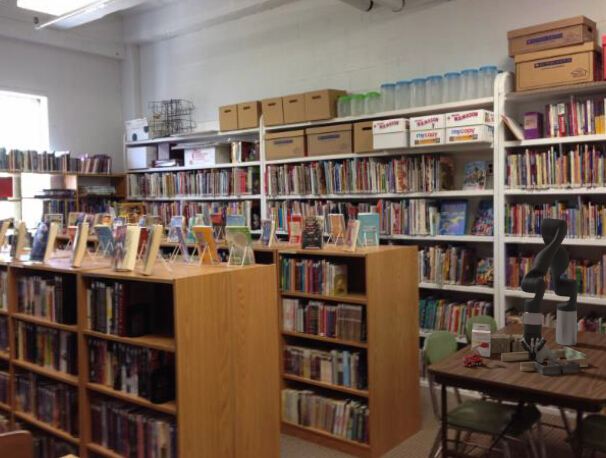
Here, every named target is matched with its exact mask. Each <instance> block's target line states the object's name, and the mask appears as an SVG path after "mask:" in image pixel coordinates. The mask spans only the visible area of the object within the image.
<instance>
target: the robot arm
mask: <svg viewBox="0 0 606 458" xmlns="http://www.w3.org/2000/svg"><path fill="white" fill-rule="evenodd" d="M539 225H540V226H539V231H540V235H541V238H542V241H543V244H544V246H545V247H543V249H542V250H541V251H539V252H538V253H537V255H536V256H535V258H534V260H533V263H532V265H531V268H530V269H529V270H528V271H527V273H526V274H525V275H524V276H523V278H522V280H521V281H520V282H521V283H520V288H521V290H522V292H524V293H527V294H534V296H533V297H531V298H529V297H528V298H525V301H524V314H523V338H522V339H521V340H519V341H518V342H519V343H520V345H521V346H522V347H523V349H524V350H525V351H528V352H529V355H528V358H529V362H536V361H537V360H536V352H538V351H540V350H541V349H542V347H543V346H544V345H546V343H547V340H546V339H545V338H544V337H543V336H542V335H543V334H542V331H543V328H542V327H543V316H542V308H543V306H542V304H543V300H544V297H545V294H546V290H547V282H546V281H545V279H543V278H544V277H546V276H547V275H548V272H549V269H550V272H551V278H552V287H553V291H554V294H555V296H557V297H563V298H564V297H566V298H569V299H568V300H565V301H563V302H560V303H557V304H556V323H555V343H556V344H558V345H561V346H576V345H577V329H578V328H577V327H578V324H577V321H578V319H577V317H578V316H577V315H578V314H577V313H578V311H577V307H578V306H577V305H578V291H579V290H578V289H579V288H578V281H577V279H575V278H564V277H563V278H562V276H563V274H564V273H565V272H566V271H567V270H568V268H569V266H570V257H569V253H568V251H567V249H566V248H565V247H564V246H563V245H562V243H563V242H564V240H565V238H566V236H567V232H568V222H567V221H566V220H564V219H561V218H559V219H558V218H551V217H550V218H549V217H548V218H547V217H546V218H545V217H544V218H543V219H542V220H541V221H540V224H539ZM542 337H543V338H544V339H543V338H542ZM525 341H526V343H527V346H526V344H525ZM538 346H539V348H538Z"/></svg>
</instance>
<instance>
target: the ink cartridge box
mask: <svg viewBox="0 0 606 458" xmlns="http://www.w3.org/2000/svg"><path fill="white" fill-rule="evenodd" d="M481 326H482V327H481ZM491 332H492V331H491V324H490V323H489V324H487V323H472V330H471V347H472V346H473V347H474V346H475V345H477V344H479V342H485V343H489V347H488V348H482V347H478V348H476V350H477V352H478V354H479V355H480V357H487V358H490V357H491V353H490V341H491V335H492V334H491ZM473 355H474V353H473V352H472V351H471V356H473Z"/></svg>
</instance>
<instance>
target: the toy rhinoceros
mask: <svg viewBox="0 0 606 458" xmlns="http://www.w3.org/2000/svg"><path fill="white" fill-rule="evenodd" d="M538 348H539V346H538ZM550 350H551V349H550V347H549V346H548V345H547V344H545V345H544V346H543V347H542V349H541V350H540V351H538V352H536V360H535V361H536V362H537V363H539V364H543V363H544V360H545V359H547V361H552V360H554V361H556V362H558V361H560V359H561V357H559V358H556V351H554V352H553V351H550ZM558 363H559V362H558Z"/></svg>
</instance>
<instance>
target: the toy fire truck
mask: <svg viewBox="0 0 606 458" xmlns="http://www.w3.org/2000/svg"><path fill="white" fill-rule="evenodd" d="M478 347H482V348H488V347H489V343H485V342H479V344H477V345H475V346H474V347H473V346H472V345H471V348H470V352H471V353H472V352H473V353H474V355H473V356H472V355H471V356H469V355H463V357H462V362H461V365H462V366H463V367H469V368H470V367H472V366H480V365H482V364H483V361H484V360H483V358H481V356H480V355H479V354H478V352H477V350H476V348H478Z"/></svg>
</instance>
